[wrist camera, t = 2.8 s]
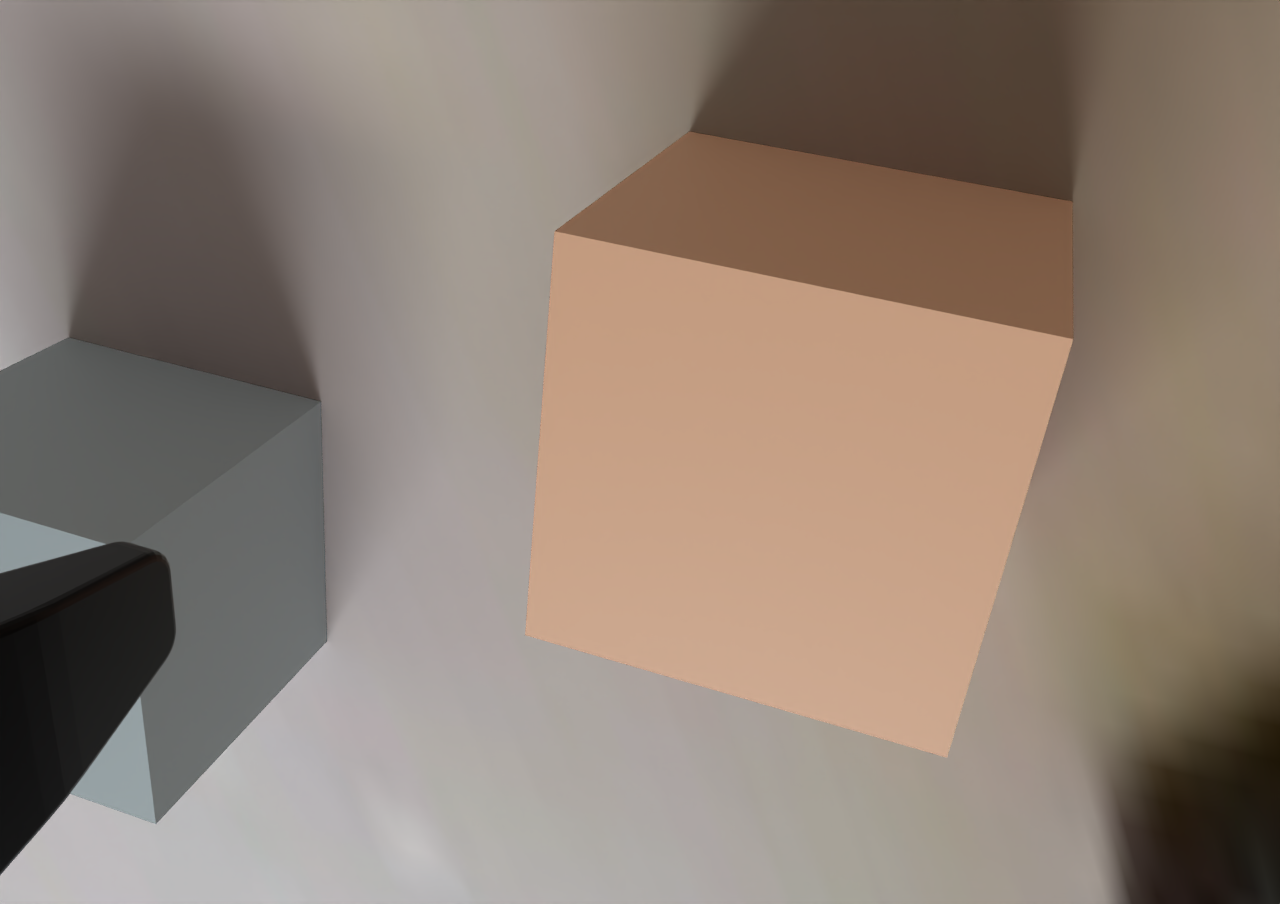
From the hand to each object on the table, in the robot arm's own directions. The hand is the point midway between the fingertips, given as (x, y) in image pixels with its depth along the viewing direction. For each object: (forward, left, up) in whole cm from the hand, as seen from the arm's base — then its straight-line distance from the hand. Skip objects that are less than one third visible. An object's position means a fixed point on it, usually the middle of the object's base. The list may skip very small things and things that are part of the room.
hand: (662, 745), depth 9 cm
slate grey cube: (+11, +5, -9) cm, 15 cm away
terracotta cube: (0, 0, -9) cm, 9 cm away
